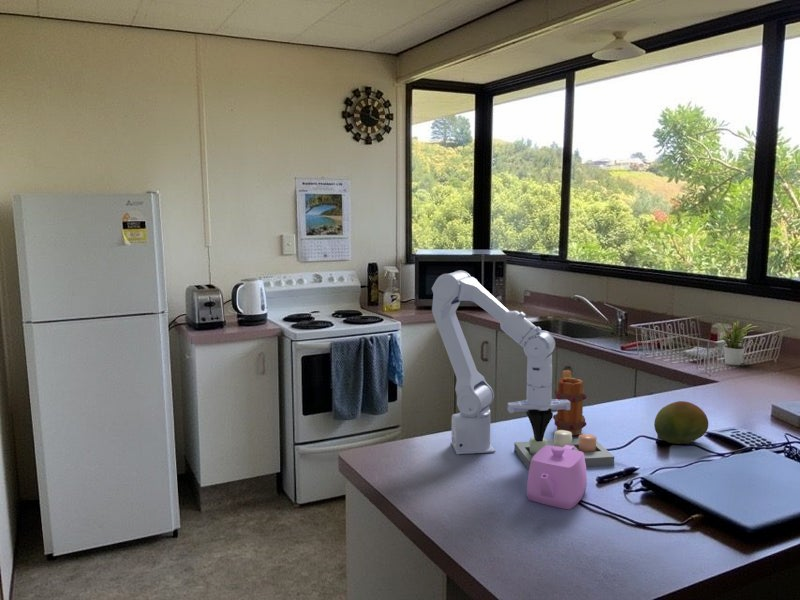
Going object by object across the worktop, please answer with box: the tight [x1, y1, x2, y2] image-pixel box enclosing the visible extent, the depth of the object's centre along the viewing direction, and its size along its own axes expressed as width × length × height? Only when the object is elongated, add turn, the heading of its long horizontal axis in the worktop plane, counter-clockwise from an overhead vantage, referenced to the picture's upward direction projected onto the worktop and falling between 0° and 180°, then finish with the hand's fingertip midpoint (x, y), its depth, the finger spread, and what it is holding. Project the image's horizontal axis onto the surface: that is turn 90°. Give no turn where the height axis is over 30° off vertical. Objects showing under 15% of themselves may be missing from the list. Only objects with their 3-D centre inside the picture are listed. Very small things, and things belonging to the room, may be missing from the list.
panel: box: [513, 438, 615, 470], centre depth 152 cm, size 20×12×2 cm, turn 96°
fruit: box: [653, 400, 709, 445], centre depth 159 cm, size 12×13×10 cm
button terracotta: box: [578, 433, 597, 452], centre depth 152 cm, size 4×4×4 cm
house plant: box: [717, 319, 759, 366], centre depth 233 cm, size 14×14×16 cm
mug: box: [552, 369, 587, 437], centre depth 169 cm, size 15×8×15 cm, turn 173°
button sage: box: [529, 436, 548, 455], centre depth 151 cm, size 4×4×4 cm
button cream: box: [553, 430, 573, 448], centre depth 151 cm, size 4×4×4 cm
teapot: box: [526, 445, 588, 510], centre depth 131 cm, size 18×10×10 cm, turn 148°
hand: (538, 440), depth 150 cm, fingers closed, pressing on button sage
